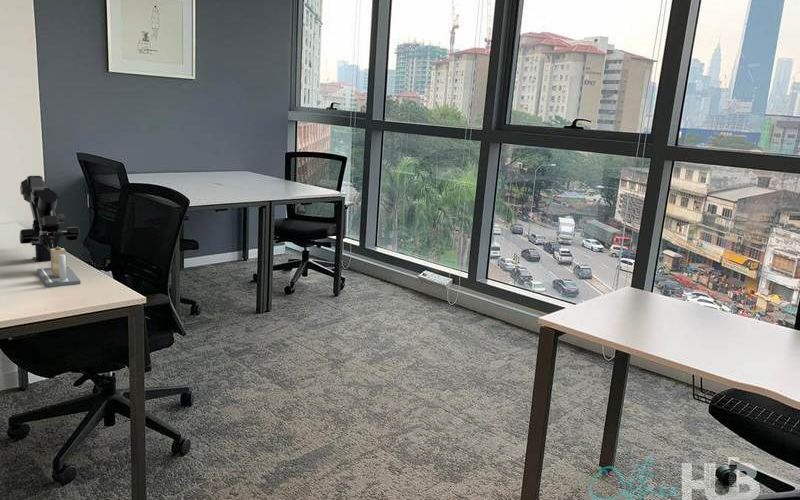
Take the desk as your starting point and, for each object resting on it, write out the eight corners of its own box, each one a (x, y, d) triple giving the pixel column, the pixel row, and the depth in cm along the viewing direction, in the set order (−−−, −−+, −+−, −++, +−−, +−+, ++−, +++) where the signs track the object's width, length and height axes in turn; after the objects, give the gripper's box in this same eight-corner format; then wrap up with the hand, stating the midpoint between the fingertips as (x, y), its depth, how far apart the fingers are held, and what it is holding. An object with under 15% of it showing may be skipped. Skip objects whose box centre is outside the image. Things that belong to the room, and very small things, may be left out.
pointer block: (51, 274, 211) (50, 246, 209) (64, 272, 214) (63, 245, 212) (53, 276, 208) (52, 249, 206) (66, 275, 211) (65, 248, 208)
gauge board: (37, 272, 217) (35, 244, 215) (68, 269, 223) (67, 242, 221) (47, 287, 202) (45, 257, 200) (80, 283, 208) (79, 255, 206)
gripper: (18, 206, 210) (25, 245, 205) (78, 205, 222) (86, 241, 216) (16, 224, 218) (23, 261, 212) (74, 221, 230) (82, 257, 224)
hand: (54, 255), depth 216 cm, fingers closed
